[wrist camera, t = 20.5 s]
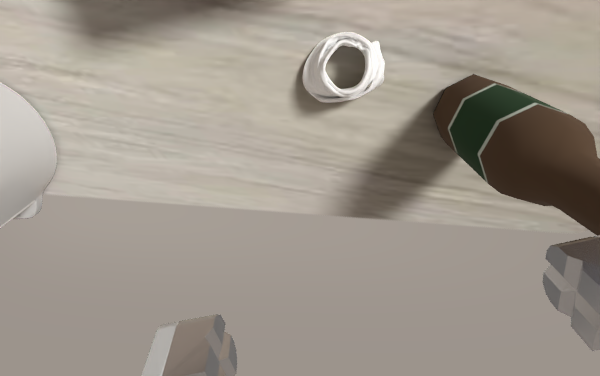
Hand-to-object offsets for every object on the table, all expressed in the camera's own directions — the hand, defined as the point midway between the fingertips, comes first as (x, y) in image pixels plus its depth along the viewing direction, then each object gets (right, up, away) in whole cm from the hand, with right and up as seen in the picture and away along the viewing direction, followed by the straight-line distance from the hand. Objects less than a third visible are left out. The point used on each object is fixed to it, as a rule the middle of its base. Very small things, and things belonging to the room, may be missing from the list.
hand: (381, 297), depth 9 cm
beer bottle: (+16, +11, +31) cm, 36 cm away
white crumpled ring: (+2, +15, +28) cm, 32 cm away
